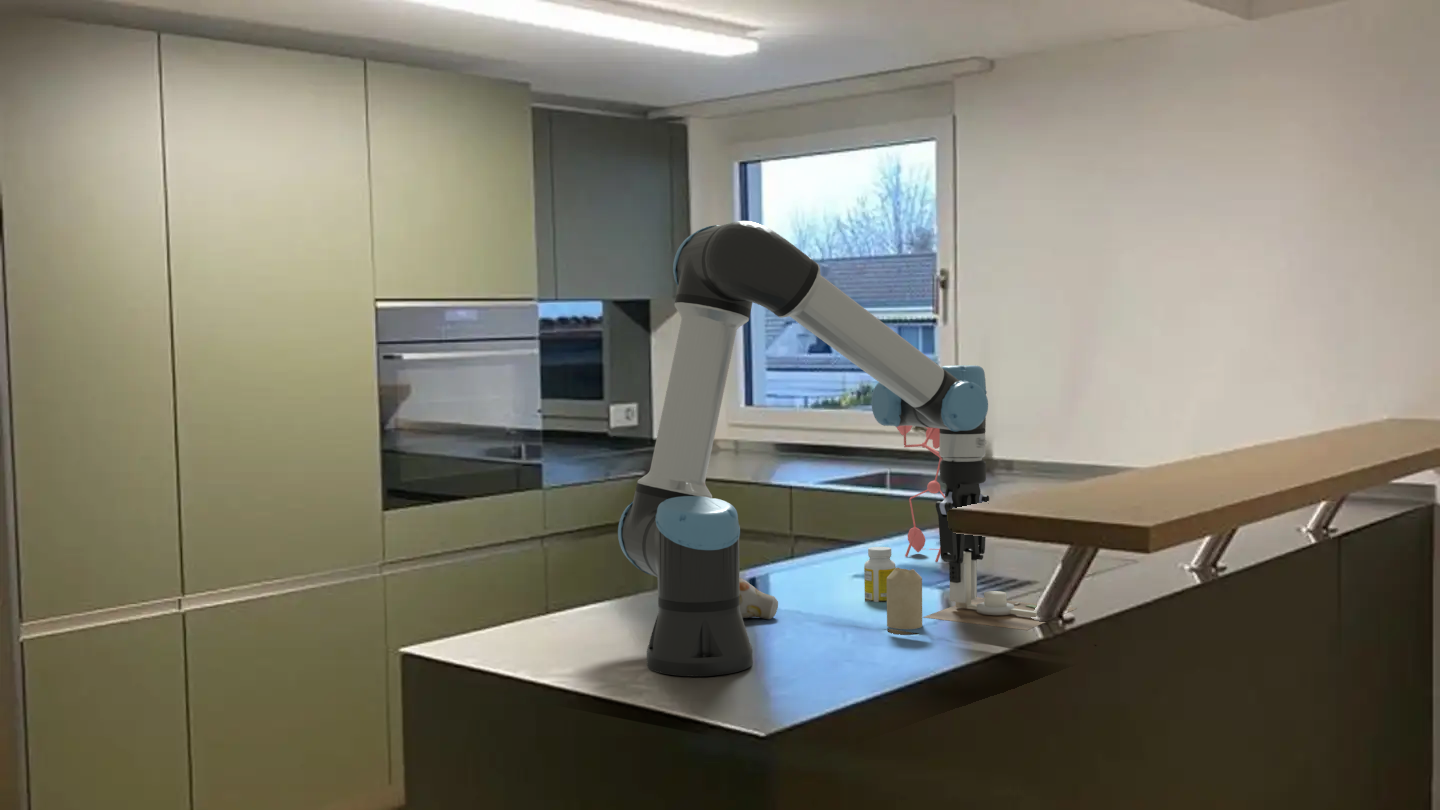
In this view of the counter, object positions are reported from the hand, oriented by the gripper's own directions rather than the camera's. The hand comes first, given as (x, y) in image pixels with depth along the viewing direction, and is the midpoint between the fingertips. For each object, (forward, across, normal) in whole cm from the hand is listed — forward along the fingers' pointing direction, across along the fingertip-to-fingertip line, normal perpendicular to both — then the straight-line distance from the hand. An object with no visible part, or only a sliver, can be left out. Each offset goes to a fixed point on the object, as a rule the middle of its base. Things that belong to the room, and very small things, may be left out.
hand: (963, 599), depth 231 cm
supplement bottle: (+3, -1, +16) cm, 16 cm away
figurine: (+3, +50, +34) cm, 61 cm away
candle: (+3, -17, +1) cm, 17 cm away
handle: (+2, 0, -6) cm, 6 cm away
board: (+3, +1, -6) cm, 7 cm away
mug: (+3, -23, +27) cm, 36 cm away
